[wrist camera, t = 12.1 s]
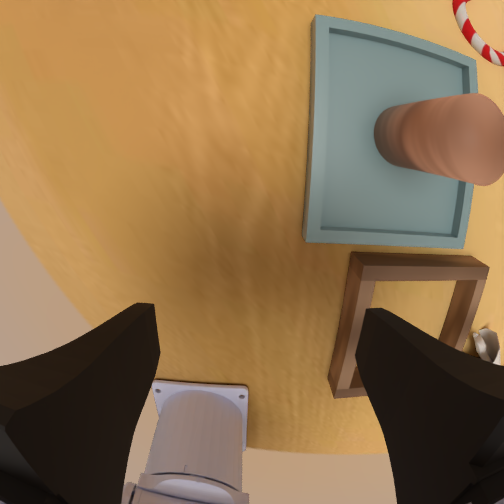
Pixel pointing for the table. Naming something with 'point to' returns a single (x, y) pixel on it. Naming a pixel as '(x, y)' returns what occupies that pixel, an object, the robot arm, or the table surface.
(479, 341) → the woman figurine
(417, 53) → the slate tray
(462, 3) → the candy cane
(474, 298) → the open wooden frame
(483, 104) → the dowel pin
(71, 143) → the table surface
